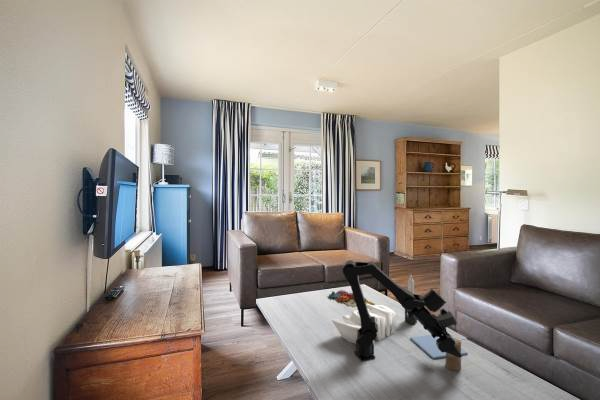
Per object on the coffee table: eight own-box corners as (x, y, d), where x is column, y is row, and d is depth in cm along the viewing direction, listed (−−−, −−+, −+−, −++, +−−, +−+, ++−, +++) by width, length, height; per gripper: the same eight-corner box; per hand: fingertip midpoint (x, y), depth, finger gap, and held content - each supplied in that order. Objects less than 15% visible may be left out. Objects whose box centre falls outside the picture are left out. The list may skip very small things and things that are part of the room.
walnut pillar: (453, 371, 105) (453, 345, 104) (442, 363, 110) (442, 338, 110) (464, 369, 106) (464, 343, 106) (453, 361, 111) (453, 336, 111)
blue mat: (433, 359, 113) (433, 357, 113) (410, 339, 129) (410, 337, 129) (467, 354, 116) (467, 352, 116) (441, 335, 132) (441, 333, 132)
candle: (407, 319, 149) (407, 272, 149) (417, 321, 146) (417, 274, 145) (404, 322, 145) (404, 274, 145) (414, 325, 142) (414, 276, 141)
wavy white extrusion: (354, 353, 118) (354, 328, 117) (329, 337, 131) (328, 314, 131) (405, 329, 138) (405, 308, 137) (378, 317, 151) (378, 298, 151)
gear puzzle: (381, 306, 168) (381, 299, 168) (364, 313, 157) (364, 306, 157) (341, 292, 191) (341, 286, 191) (325, 298, 181) (325, 292, 181)
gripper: (448, 315, 99) (483, 350, 97) (436, 297, 117) (465, 325, 115) (424, 335, 101) (458, 369, 99) (416, 313, 120) (444, 342, 117)
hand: (457, 350), depth 107 cm, fingers open, 9 cm apart
